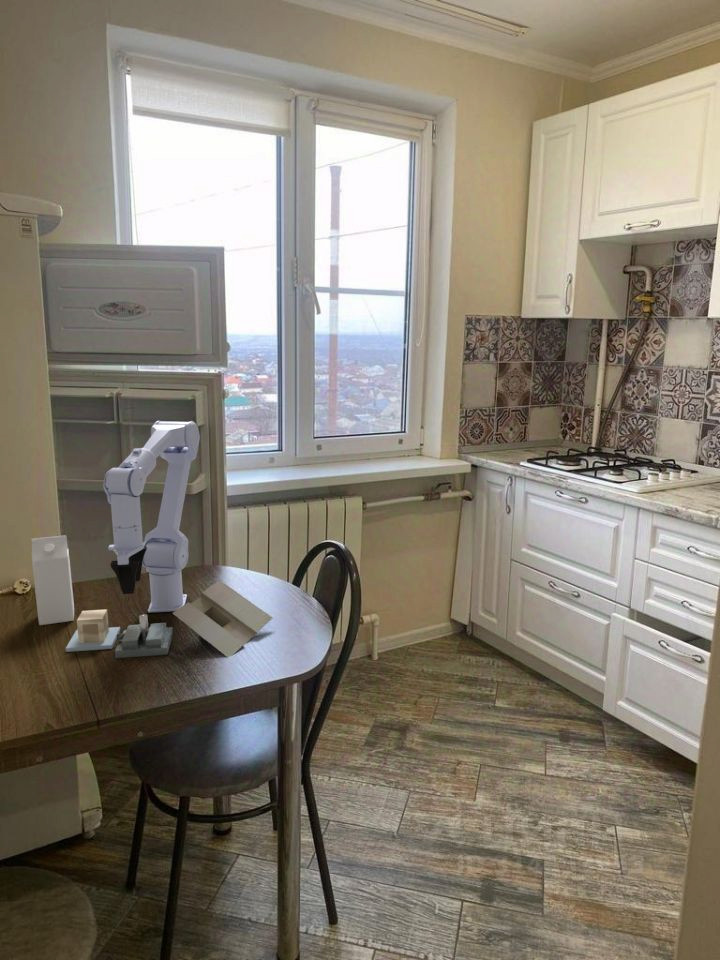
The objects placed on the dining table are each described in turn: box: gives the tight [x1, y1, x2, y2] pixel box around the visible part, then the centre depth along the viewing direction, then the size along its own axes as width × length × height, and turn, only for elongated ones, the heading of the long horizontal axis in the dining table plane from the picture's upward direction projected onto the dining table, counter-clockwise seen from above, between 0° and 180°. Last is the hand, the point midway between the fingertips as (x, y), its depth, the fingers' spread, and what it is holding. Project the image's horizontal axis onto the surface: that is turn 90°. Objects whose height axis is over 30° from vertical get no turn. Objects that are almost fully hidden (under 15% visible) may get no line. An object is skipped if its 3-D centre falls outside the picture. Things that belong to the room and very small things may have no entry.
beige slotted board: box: [172, 580, 274, 658], centre depth 149 cm, size 16×9×15 cm
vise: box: [114, 613, 174, 659], centre depth 144 cm, size 10×10×6 cm
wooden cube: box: [76, 609, 110, 643], centre depth 146 cm, size 5×5×5 cm
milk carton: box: [30, 535, 75, 626], centre depth 157 cm, size 7×7×19 cm
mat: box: [65, 626, 121, 653], centre depth 147 cm, size 9×9×1 cm
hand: (131, 586), depth 148 cm, fingers open, 7 cm apart
